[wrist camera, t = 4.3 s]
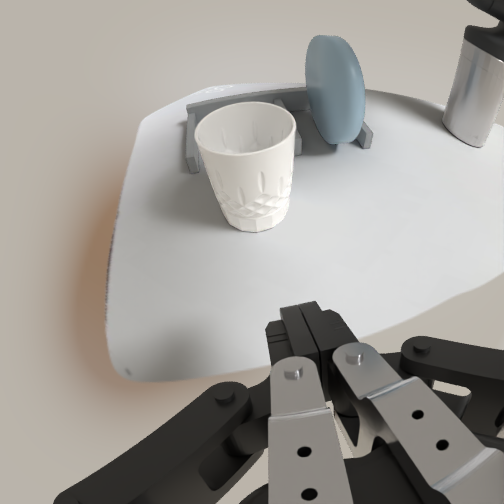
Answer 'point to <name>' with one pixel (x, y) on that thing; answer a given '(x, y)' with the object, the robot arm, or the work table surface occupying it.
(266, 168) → the white cup
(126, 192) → the work table surface
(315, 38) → the dish rack
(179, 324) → the work table surface
